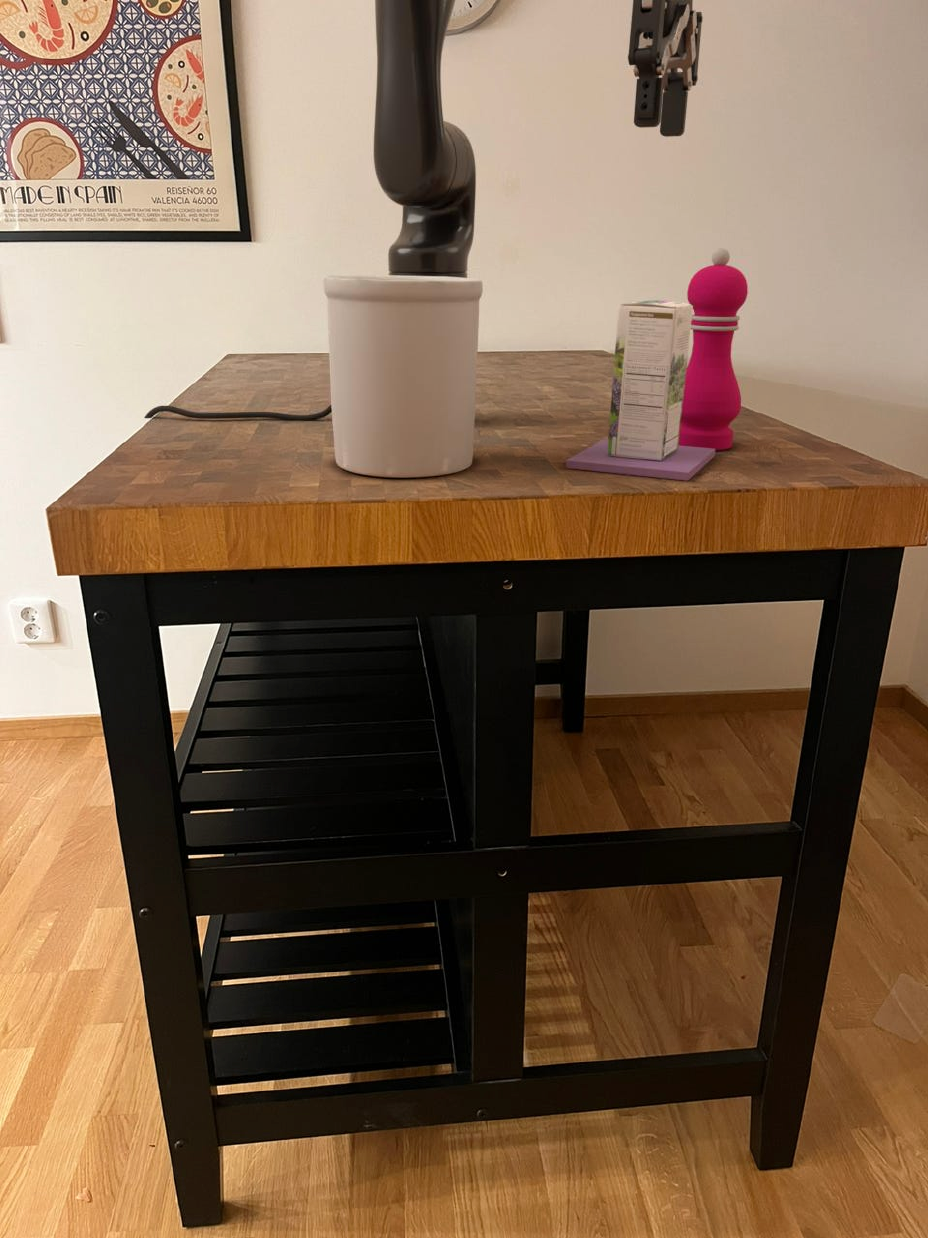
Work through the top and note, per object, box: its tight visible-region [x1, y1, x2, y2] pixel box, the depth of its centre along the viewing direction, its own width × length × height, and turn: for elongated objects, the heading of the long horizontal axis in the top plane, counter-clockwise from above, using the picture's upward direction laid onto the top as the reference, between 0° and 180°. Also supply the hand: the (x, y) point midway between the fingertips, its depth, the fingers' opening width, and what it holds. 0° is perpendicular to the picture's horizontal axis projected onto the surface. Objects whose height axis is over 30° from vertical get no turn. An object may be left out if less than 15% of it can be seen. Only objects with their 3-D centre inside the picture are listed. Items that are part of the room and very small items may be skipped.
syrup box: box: [607, 299, 693, 460], centre depth 90 cm, size 6×6×14 cm
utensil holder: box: [322, 274, 484, 479], centre depth 89 cm, size 15×15×18 cm
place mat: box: [565, 438, 716, 482], centre depth 93 cm, size 12×12×1 cm
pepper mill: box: [678, 247, 749, 452], centre depth 98 cm, size 7×7×20 cm
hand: (659, 131), depth 85 cm, fingers open, 8 cm apart
